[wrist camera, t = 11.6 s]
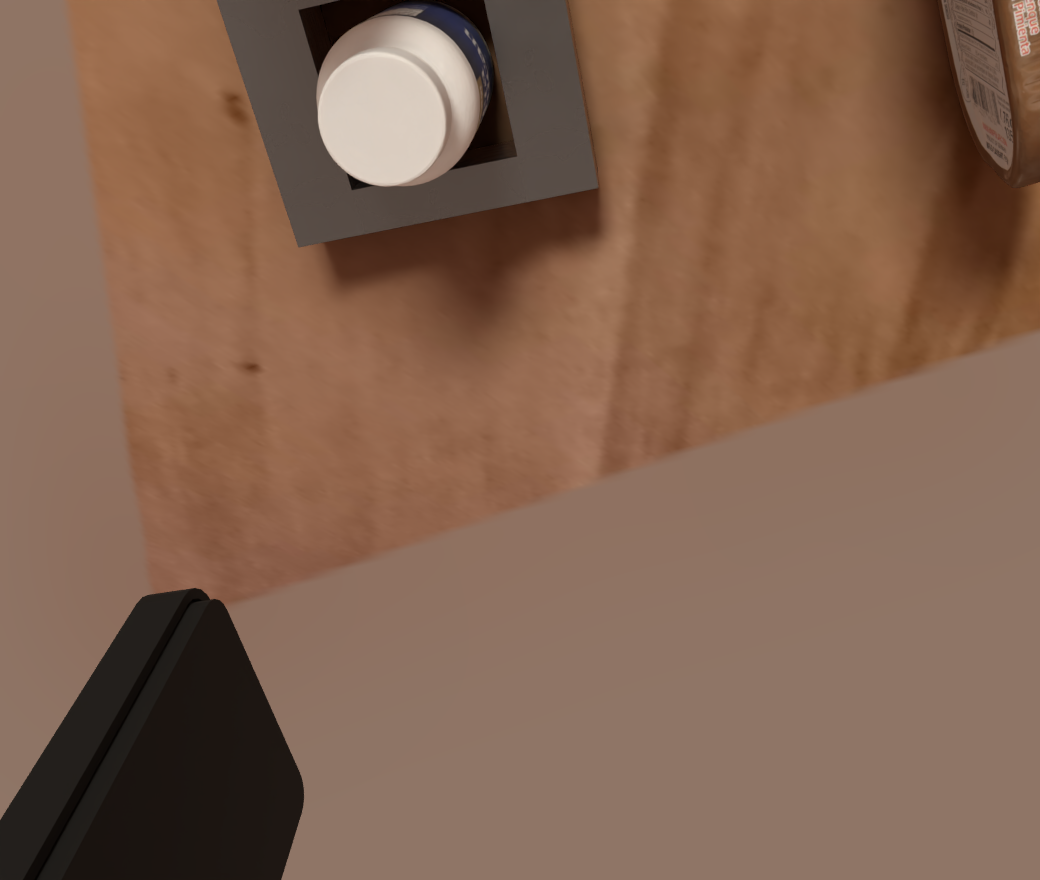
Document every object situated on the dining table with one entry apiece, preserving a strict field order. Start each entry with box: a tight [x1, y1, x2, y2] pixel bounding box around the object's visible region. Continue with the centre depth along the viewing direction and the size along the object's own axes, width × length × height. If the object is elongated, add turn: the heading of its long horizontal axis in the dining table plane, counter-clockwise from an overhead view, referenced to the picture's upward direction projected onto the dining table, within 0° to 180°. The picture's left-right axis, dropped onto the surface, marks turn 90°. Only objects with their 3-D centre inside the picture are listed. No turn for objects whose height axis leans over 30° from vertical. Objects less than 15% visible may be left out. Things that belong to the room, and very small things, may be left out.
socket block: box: [217, 0, 598, 247], centre depth 37 cm, size 12×10×3 cm
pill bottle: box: [316, 0, 494, 187], centre depth 34 cm, size 5×5×10 cm
